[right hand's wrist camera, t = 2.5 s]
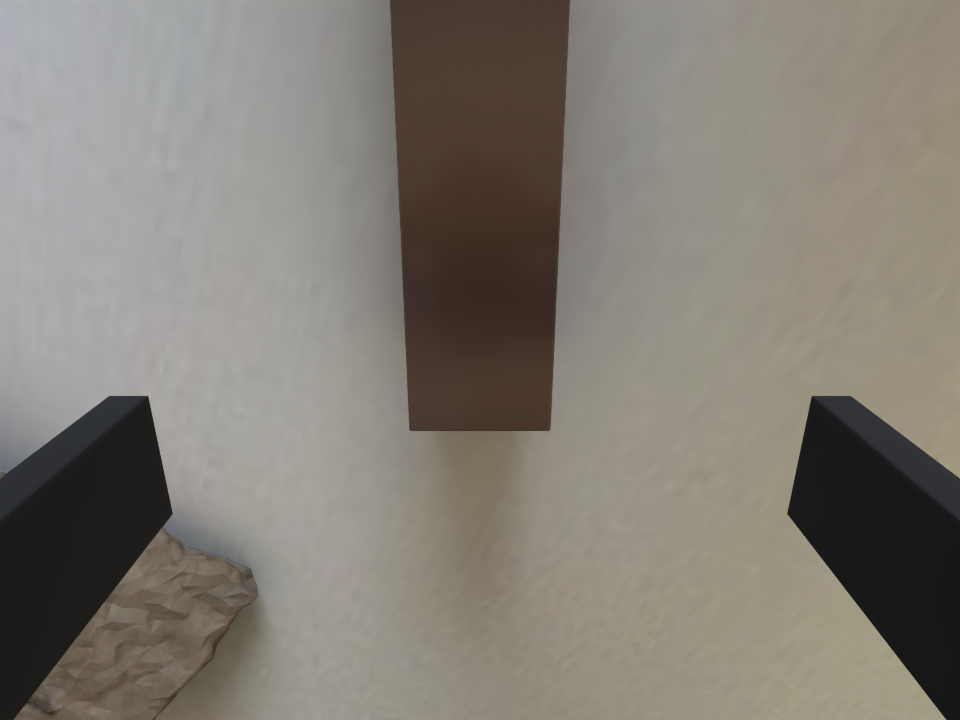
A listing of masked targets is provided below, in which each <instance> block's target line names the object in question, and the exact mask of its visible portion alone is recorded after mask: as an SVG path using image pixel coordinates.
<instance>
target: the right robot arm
mask: <svg viewBox="0 0 960 720" xmlns="http://www.w3.org/2000/svg"><path fill="white" fill-rule="evenodd" d="M172 514H173V513H172V508H171V504H170V499H169V494H168V489H167V484H166V480H165V475H164V470H163V465H162V460H161V456H160V451H159V446H158V441H157V436H156V432H155V427H154V422H153V417H152V412H151V408H150V403H149V398H148V396H109V397H108V398H106V399H105V400H104V401H102V402H101V403H100V404H98V405H97V406H96V407H94V408H93V409H92V410H90V411H89V412H88V413H86V414H85V415H84V416H82V417H81V418H80V419H78V420H77V421H76V422H74V423H73V424H72V425H70V426H69V427H68V428H67V429H65V430H64V431H63V432H61V433H60V434H59V435H57V436H56V437H55V438H53V439H52V440H51V441H49V442H48V443H47V444H45V445H44V446H43V447H41V448H40V449H39V450H37V451H36V452H35V453H33V454H32V455H31V456H29V457H28V458H27V459H26V460H24V461H23V462H22V463H20V464H19V465H18V466H16V467H15V468H14V469H12V470H11V471H10V472H8V473H7V474H6V475H4V476H3V477H2V478H0V720H14V719H15V717H16V716H17V715H18V713H19V712H20V711H21V710H22V708H23V707H24V706H25V704H26V703H27V702H28V700H29V699H30V698H31V697H32V695H33V694H34V693H35V691H36V690H37V689H38V688H39V686H40V685H41V684H42V682H43V681H44V680H45V678H46V677H47V676H48V675H49V673H50V672H51V671H52V669H53V668H54V667H55V666H56V664H57V663H58V662H59V660H60V659H61V658H62V656H63V655H64V654H65V653H66V651H67V650H68V649H69V647H70V646H71V645H72V643H73V642H74V641H75V640H76V638H77V637H78V636H79V634H80V633H81V632H82V631H83V629H84V628H85V627H86V625H87V624H88V623H89V621H90V620H91V619H92V618H93V616H94V615H95V614H96V612H97V611H98V610H99V609H100V607H101V606H102V605H103V603H104V602H105V601H106V599H107V598H108V597H109V596H110V594H111V593H112V592H113V590H114V589H115V588H116V587H117V585H118V584H119V583H120V581H121V580H122V579H123V577H124V576H125V575H126V574H127V572H128V571H129V570H130V568H131V567H132V566H133V565H134V563H135V562H136V561H137V559H138V558H139V557H140V555H141V554H142V553H143V552H144V550H145V549H146V548H147V546H148V545H149V544H150V543H151V541H152V540H153V539H154V537H155V536H156V535H157V533H158V532H159V531H160V530H161V528H162V527H163V526H164V524H165V523H166V522H167V520H168V519H169V518H170V517H171V515H172ZM787 514H788V515H789V517H790V518H791V519H792V520H793V522H794V523H795V524H796V526H797V527H798V528H799V530H800V531H801V532H802V533H803V535H804V536H805V537H806V539H807V540H808V541H809V543H810V544H811V545H812V546H813V548H814V549H815V550H816V552H817V553H818V554H819V555H820V557H821V558H822V559H823V561H824V562H825V563H826V565H827V566H828V567H829V568H830V570H831V571H832V572H833V574H834V575H835V576H836V577H837V579H838V580H839V581H840V583H841V584H842V585H843V587H844V588H845V589H846V590H847V592H848V593H849V594H850V596H851V597H852V598H853V599H854V601H855V602H856V603H857V605H858V606H859V607H860V609H861V610H862V611H863V612H864V614H865V615H866V616H867V618H868V619H869V620H870V621H871V623H872V624H873V625H874V627H875V628H876V629H877V631H878V632H879V633H880V634H881V636H882V637H883V638H884V640H885V641H886V642H887V644H888V645H889V646H890V647H891V649H892V650H893V651H894V653H895V654H896V655H897V656H898V658H899V659H900V660H901V662H902V663H903V664H904V666H905V667H906V668H907V669H908V671H909V672H910V673H911V675H912V676H913V677H914V678H915V680H916V681H917V682H918V684H919V685H920V686H921V688H922V689H923V690H924V691H925V693H926V694H927V695H928V697H929V698H930V699H931V700H932V702H933V703H934V704H935V706H936V707H937V708H938V710H939V711H940V712H941V713H942V715H943V716H944V717H945V719H946V720H960V478H958V477H957V476H956V475H954V474H953V473H952V472H950V471H949V470H948V469H946V468H945V467H944V466H942V465H941V464H940V463H938V462H937V461H936V460H934V459H933V458H932V457H931V456H929V455H928V454H927V453H925V452H924V451H923V450H921V449H920V448H919V447H917V446H916V445H915V444H913V443H912V442H911V441H909V440H908V439H907V438H905V437H904V436H903V435H901V434H900V433H899V432H897V431H896V430H895V429H893V428H892V427H891V426H890V425H888V424H887V423H886V422H884V421H883V420H882V419H880V418H879V417H878V416H876V415H875V414H874V413H872V412H871V411H870V410H868V409H867V408H866V407H864V406H863V405H862V404H860V403H859V402H858V401H856V400H855V399H854V398H852V397H851V396H812V398H811V403H810V408H809V412H808V417H807V422H806V427H805V432H804V436H803V441H802V446H801V451H800V456H799V460H798V465H797V470H796V475H795V480H794V484H793V489H792V494H791V499H790V504H789V508H788V513H787Z"/></svg>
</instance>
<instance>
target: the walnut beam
mask: <svg viewBox="0 0 960 720" xmlns="http://www.w3.org/2000/svg"><path fill="white" fill-rule="evenodd" d="M569 9H570V0H390V10H391V32H392V54H393V77H394V99H395V121H396V143H397V165H398V187H399V209H400V231H401V253H402V276H403V298H404V320H405V342H406V364H407V386H408V408H409V429H410V431H550V429H551V407H552V385H553V363H554V341H555V319H556V297H557V275H558V252H559V230H560V208H561V186H562V164H563V142H564V120H565V98H566V75H567V53H568V31H569Z"/></svg>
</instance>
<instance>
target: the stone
mask: <svg viewBox="0 0 960 720" xmlns="http://www.w3.org/2000/svg"><path fill="white" fill-rule="evenodd" d="M4 475H5V474H4V473H2V472H0V478H2V477H3V476H4ZM257 597H258V594H257V585H256V583H255V580H254V578H253V575H252V571H251V569H250V568H248V567H246V566H243V565H240V564H237V563H234V562H232V561H230V560H229V559H228V558H226V557H218V556H215V555H212V554H209V553H206V552H203V551H199V550H195V549H192V548H189V547H187V546H186V545H184V544H183V543H182V542H181V541H180V540H178V539H176V538H174V537H172V536H170V535H169V533H168V532H167V531H166V530H165V529H164V527H162V528H161V530H160V531H159V532H158V533H157V535H156V536H155V537H154V539H153V540H152V541H151V543H150V544H149V545H148V546H147V548H146V549H145V550H144V552H143V553H142V554H141V555H140V557H139V558H138V559H137V561H136V562H135V563H134V565H133V566H132V567H131V568H130V570H129V571H128V572H127V574H126V575H125V576H124V577H123V579H122V580H121V581H120V583H119V584H118V585H117V587H116V588H115V589H114V590H113V592H112V593H111V594H110V596H109V597H108V598H107V599H106V601H105V602H104V603H103V605H102V606H101V607H100V609H99V610H98V611H97V612H96V614H95V615H94V616H93V618H92V619H91V620H90V621H89V623H88V624H87V625H86V627H85V628H84V629H83V631H82V632H81V633H80V634H79V636H78V637H77V638H76V640H75V641H74V642H73V643H72V645H71V646H70V647H69V649H68V650H67V651H66V653H65V654H64V655H63V656H62V658H61V659H60V660H59V662H58V663H57V664H56V666H55V667H54V668H53V669H52V671H51V672H50V673H49V675H48V676H47V677H46V678H45V680H44V681H43V682H42V684H41V685H40V686H39V688H38V689H37V690H36V691H35V693H34V694H33V695H32V697H31V698H30V699H29V700H28V702H27V703H26V704H25V706H24V707H23V708H22V710H21V711H20V712H19V713H18V715H17V716H16V717H15V719H14V720H155V718H156V717H157V715H158V714H159V713H160V712H161V711H162V710H163V709H164V708H165V707H166V706H167V705H168V704H169V703H170V702H171V701H172V700H173V699H174V698H175V696H176V694H177V692H178V691H179V690H180V689H182V688H183V687H184V686H185V685H186V684H187V683H188V682H189V681H190V680H191V679H192V678H193V677H194V676H195V675H196V674H197V673H198V672H199V671H200V670H201V669H202V668H203V667H204V666H205V665H206V664H208V663H209V662H210V661H211V660H212V659H213V657H214V653H215V650H216V647H217V643H218V642H219V641H220V639H221V638H222V637H223V635H224V634H225V633H226V632H227V630H228V629H229V626H230V624H231V622H232V621H233V620H234V618H235V617H236V615H237V614H238V612H239V611H240V609H241V608H242V607H245V606H247V605H250V604H251V603H252V602H253V601H254V600H255V599H256V598H257Z"/></svg>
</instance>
